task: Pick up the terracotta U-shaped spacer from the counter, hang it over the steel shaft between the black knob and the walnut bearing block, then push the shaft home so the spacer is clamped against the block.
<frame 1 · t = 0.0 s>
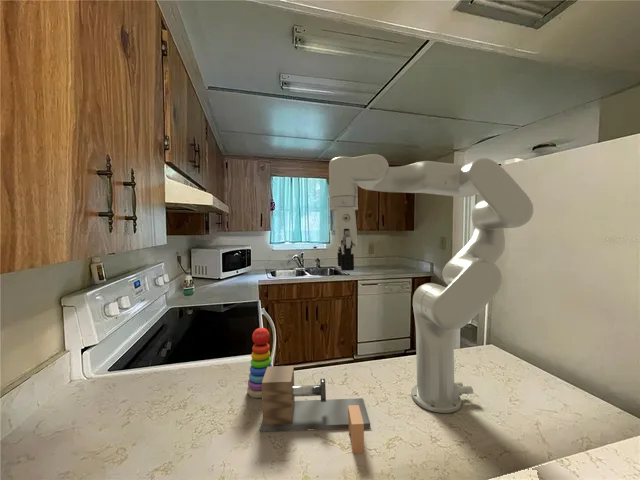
hand: (345, 268, 74), 37 cm above the countertop, tool pointing down, fingers open, 9 cm apart
spacer: (356, 440, 61), on the countertop
stacking toy: (261, 392, 81), on the countertop
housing: (279, 417, 69), on the countertop
shaft: (294, 391, 69), point 7 cm above the countertop, slide at 7.0 cm
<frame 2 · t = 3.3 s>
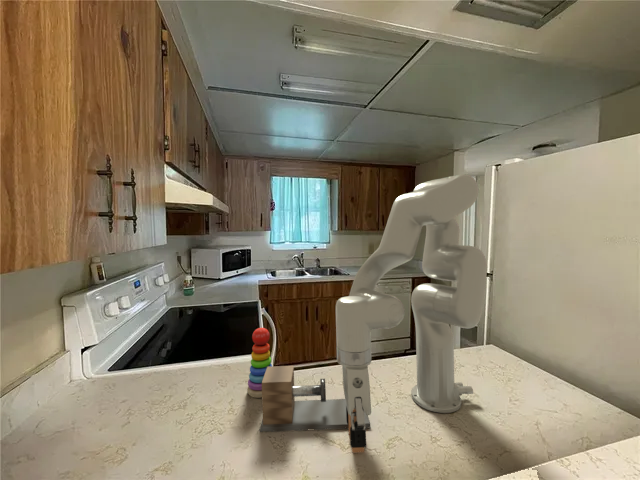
hand: (355, 433, 61), 2 cm above the countertop, tool pointing down, fingers closed on spacer, 6 cm apart
spacer: (356, 440, 61), on the countertop, touching gripper
everything else where it was.
when the fingers open (7 cm above the countertop, at t = 8.9 s): spacer drops 1 cm, resting on shaft.
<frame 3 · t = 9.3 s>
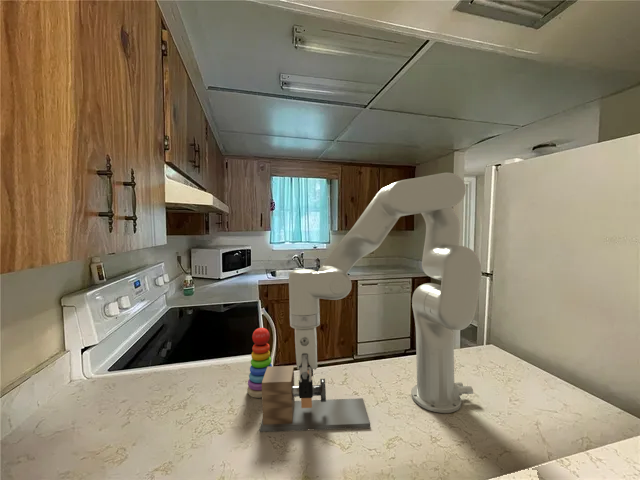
hand: (306, 386, 69), 8 cm above the countertop, tool pointing down, fingers open, 9 cm apart
spacer: (307, 399, 70), point 4 cm above the countertop, touching shaft
shaft: (294, 391, 69), point 7 cm above the countertop, slide at 7.0 cm, touching spacer
everything else where it was.
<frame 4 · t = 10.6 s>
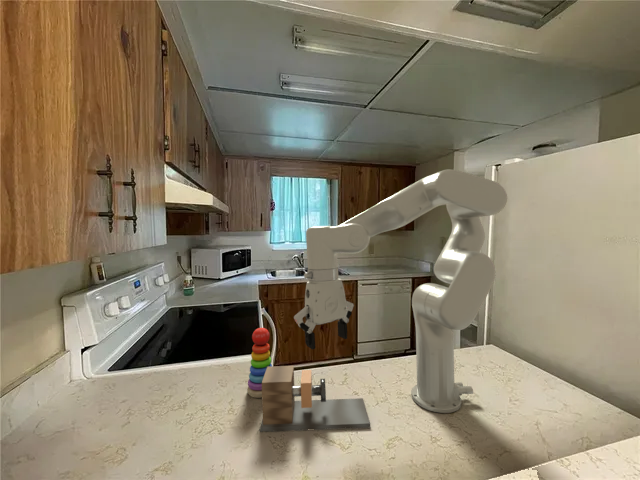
hand: (327, 342, 69), 19 cm above the countertop, tool pointing down, fingers open, 9 cm apart
nothing on the countertop moved.
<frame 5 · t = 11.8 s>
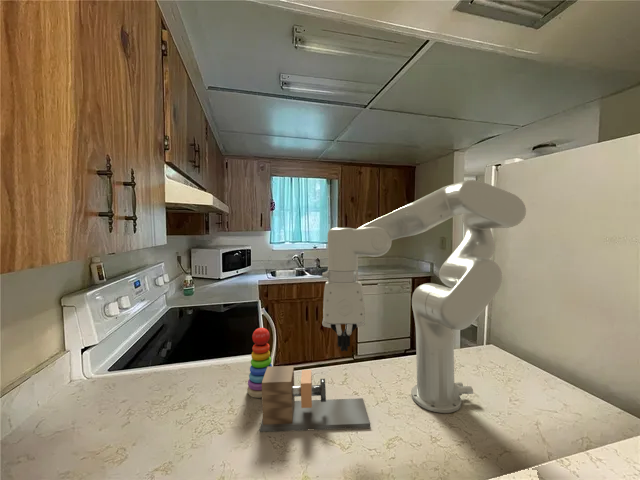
hand: (343, 349, 69), 17 cm above the countertop, tool pointing down, fingers closed
nothing on the countertop moved.
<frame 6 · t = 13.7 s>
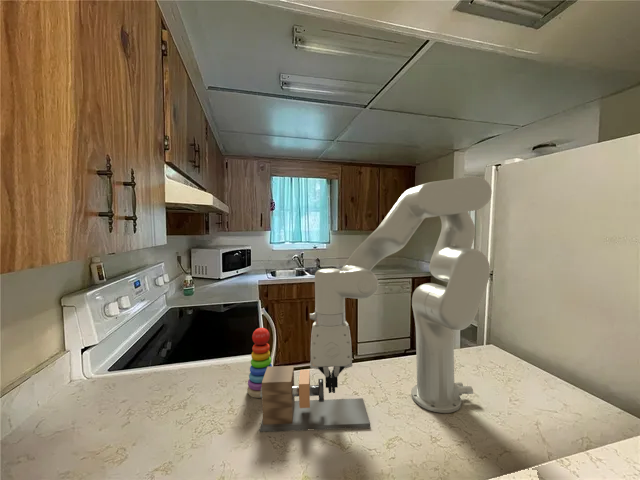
hand: (331, 389, 70), 7 cm above the countertop, tool pointing down, fingers closed
shaft: (292, 391, 69), point 7 cm above the countertop, slide at 6.5 cm, touching gripper, spacer
everything else where it was.
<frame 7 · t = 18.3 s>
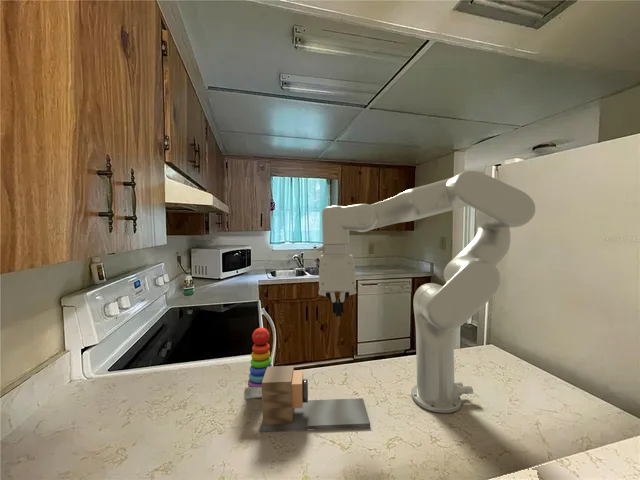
hand: (337, 315, 77), 23 cm above the countertop, tool pointing down, fingers closed
spacer: (298, 399, 70), point 4 cm above the countertop, touching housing, shaft
shaft: (276, 391, 69), point 7 cm above the countertop, slide at 2.5 cm, touching spacer
everything else where it was.
at the end: shaft slide at 2.5 cm; spacer 0.1 cm from the target spot, point 4.2 cm above the countertop; spacer tilted 2° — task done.
